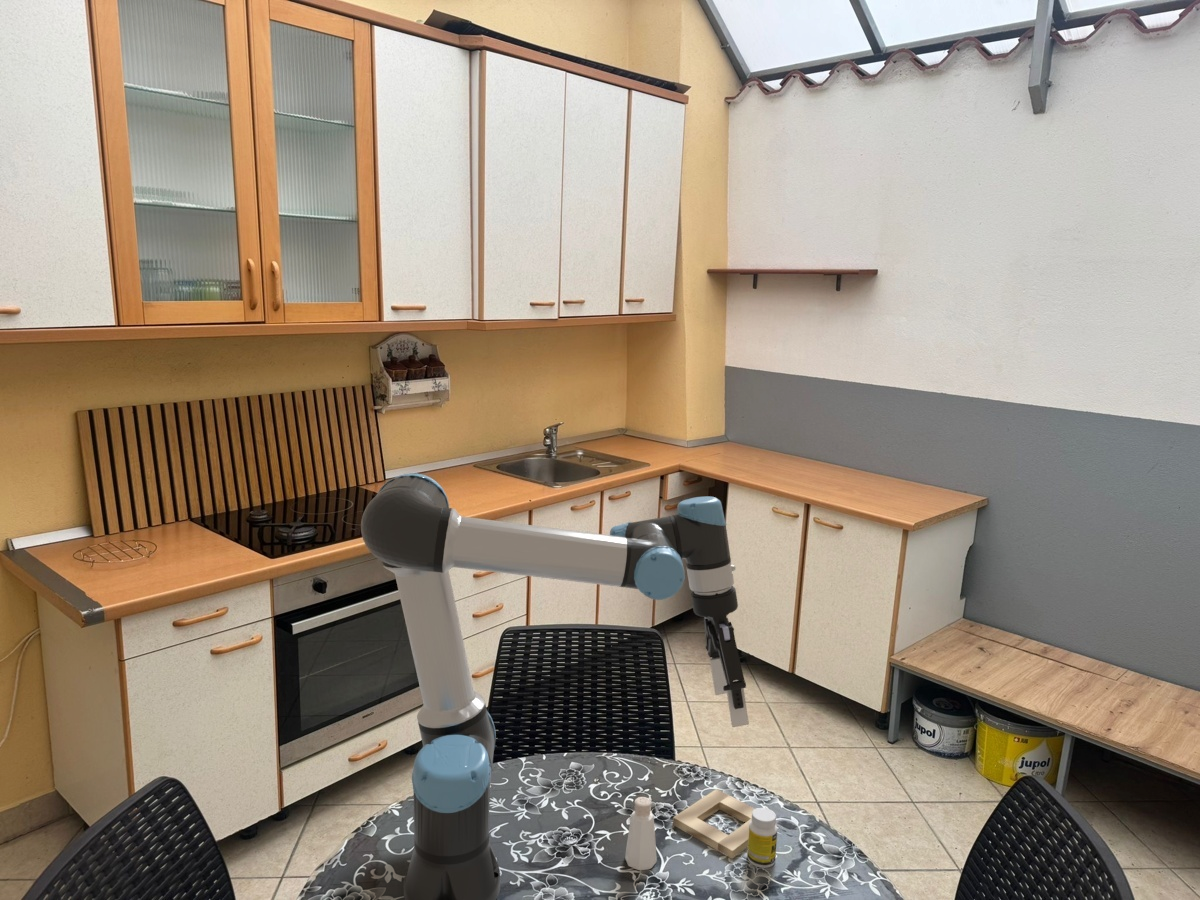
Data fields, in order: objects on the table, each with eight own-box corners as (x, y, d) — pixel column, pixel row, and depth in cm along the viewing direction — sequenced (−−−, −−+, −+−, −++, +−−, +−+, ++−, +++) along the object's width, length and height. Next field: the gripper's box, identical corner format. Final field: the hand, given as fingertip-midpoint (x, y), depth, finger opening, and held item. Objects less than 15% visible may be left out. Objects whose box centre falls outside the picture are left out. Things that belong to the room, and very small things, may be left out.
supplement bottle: (775, 870, 138) (778, 824, 136) (746, 866, 139) (749, 820, 137) (775, 852, 142) (778, 808, 141) (747, 848, 143) (750, 804, 142)
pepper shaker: (655, 873, 137) (657, 812, 135) (622, 868, 137) (624, 808, 136) (658, 852, 142) (660, 793, 140) (626, 848, 143) (628, 789, 141)
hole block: (672, 824, 149) (673, 817, 149) (716, 796, 159) (716, 788, 158) (732, 858, 141) (732, 850, 140) (774, 826, 150) (774, 818, 149)
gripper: (752, 604, 127) (772, 735, 129) (719, 567, 152) (736, 677, 154) (704, 613, 127) (725, 744, 129) (679, 574, 152) (696, 685, 154)
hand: (731, 708), depth 142 cm, fingers open, 13 cm apart
